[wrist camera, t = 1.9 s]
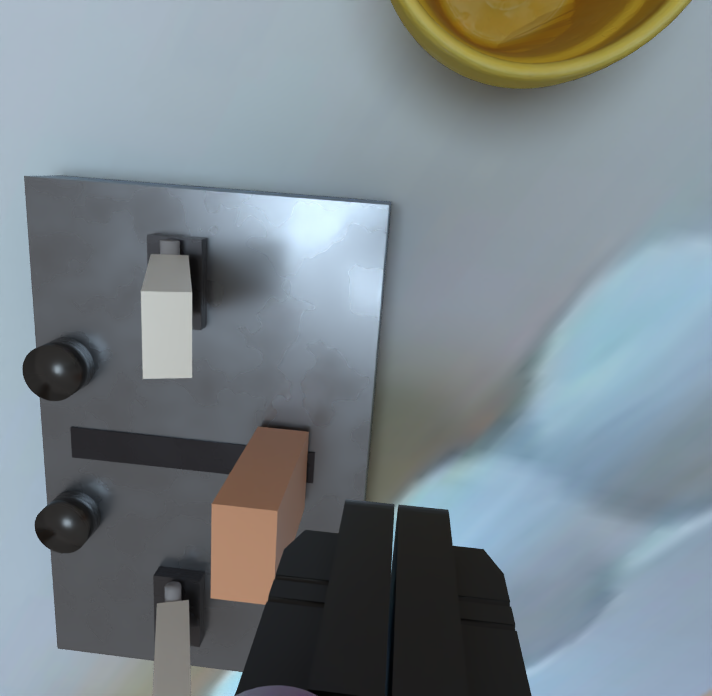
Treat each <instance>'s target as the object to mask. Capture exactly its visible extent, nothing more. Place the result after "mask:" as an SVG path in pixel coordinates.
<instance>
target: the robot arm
mask: <svg viewBox="0 0 712 696" xmlns="http://www.w3.org/2000/svg"><path fill="white" fill-rule="evenodd" d="M393 523H394V504H386V503H377V502H368V501H359V500H349V499H346V500H345V504H344V509H343V514H342V519H341V524H340V529H339V533H331V532H322V531H313V530H305V531H303V532H302V533H301V534H300V535H299V536H298V537H297V538H296V539H295V540H293V541H292V542H291V543H290V544H289V545H288V546H287V547H286V548H285V549H284V551H283V554H282V557H281V560H280V563H279V566H278V569H277V572H276V576H275V579H274V581H273V584H272V587H271V589H270V592H269V595H268V602H266V604H265V607H264V610H263V613H262V616H261V619H260V622H259V625H258V628H257V631H256V634H255V637H254V640H253V643H252V646H251V649H250V652H249V655H248V658H247V661H246V664H245V667H244V670H243V673H242V676H241V679H240V682H239V685H238V688H237V691H236V693H235V696H531V692H530V688H529V683H528V679H527V674H526V670H525V666H524V661H523V657H522V652H521V648H520V644H519V639H518V635H517V631H515V622H514V617H513V613H512V609H511V607H510V600H509V595H508V591H507V587H506V582H505V578H504V574H503V572H502V571H501V570H500V569H499V568H498V566H497V565H496V564H495V563H494V562H493V560H492V559H491V558H490V557H489V555H488V554H487V553H486V552H485V551H484V549H476V548H467V547H458V546H452V537H451V527H450V518H449V512H448V510H444V509H434V508H425V507H416V506H407V505H399V506H398V512H397V521H396V531H395V541H394V551H393V560H392V542H393ZM391 562H392V570H391Z"/></svg>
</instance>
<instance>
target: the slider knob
mask: <svg viewBox="0 0 712 696" xmlns="http://www.w3.org/2000/svg"><path fill="white" fill-rule="evenodd" d="M308 438H309V432H307V431H297V430H287V429H278V428H268V427H257V429H256V431H255V432H254V434H253V436H252V437H251V439H250V441H249V442H248V444H247V446H246V447H245V449H244V451H243V452H242V454H241V456H240V457H239V459H238V461H237V462H236V464H235V466H234V467H233V469H232V471H231V472H230V474H229V476H228V477H227V479H226V481H225V482H224V484H223V486H222V487H221V489H220V491H219V492H218V494H217V496H216V497H215V499H214V501H213V502H212V518H211V598H213V599H221V600H229V601H238V602H246V603H254V604H263V605H265V604H266V602H268V595H269V592H270V589H271V587H272V584H273V581H274V579H275V576H276V572H277V569H278V566H279V563H280V560H281V557H282V554H283V551H284V549H285V548H286V547H287V546H288V545H289V544H290V543H291V542H292V541H293V540H295V537H296V534H297V530H298V527H299V524H300V521H301V518H302V515H303V512H304V508H305V491H306V474H307V456H308Z"/></svg>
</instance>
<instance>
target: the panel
mask: <svg viewBox="0 0 712 696" xmlns="http://www.w3.org/2000/svg"><path fill="white" fill-rule="evenodd" d="M24 181H25V195H26V209H27V223H28V237H29V252H30V266H31V280H32V294H33V308H34V322H35V336H36V348H35V349H34V350H32V351H31V352H30V353H29V354H28V355H27V356H26V358H25V360H24V363H23V376H24V379H25V382H26V384H27V385H28V387H29V388H30V389H31V391H32V392H34V393H35V394H36V395H37V396H39V397H40V407H41V421H42V435H43V449H44V463H45V477H46V491H47V506H46V507H45V508H44V509H43V510H42V511H41V512H40V513H39V514H38V515H37V517H36V520H35V531H36V534H37V536H38V538H39V540H40V541H41V542H42V543H43V544H44V545H45V546H46V547H47V548H49V549H51V562H52V576H53V590H54V604H55V618H56V632H57V646H58V648H59V649H67V650H74V651H82V652H90V653H98V654H106V655H114V656H121V657H129V658H137V659H145V660H153V661H154V655H155V634H156V612H157V603H165V585H166V584H167V583H169V582H172V581H177V582H179V583H181V601H183V600H189V628H190V665H192V666H200V667H208V668H215V669H223V670H231V671H239V672H243V670H244V667H245V664H246V661H247V658H248V655H249V652H250V649H251V646H252V643H253V640H254V637H255V634H256V631H257V628H258V625H259V622H260V619H261V616H262V613H263V610H264V607H265V605H263V604H254V603H246V602H238V601H229V600H221V599H213V598H211V518H212V502H213V501H214V499H215V497H216V496H217V494H218V492H219V491H220V489H221V487H222V486H223V484H224V482H225V481H226V479H227V477H228V476H229V474H230V472H231V471H232V469H233V467H234V466H235V464H236V462H237V461H238V459H239V457H240V456H241V454H242V452H243V451H244V449H245V447H246V446H247V444H248V442H249V441H250V439H251V437H252V436H253V434H254V432H255V431H256V429H257V427H268V428H278V429H287V430H297V431H307V432H309V438H308V456H307V474H306V491H305V508H304V512H303V515H302V518H301V521H300V524H299V527H298V530H297V534H296V537H295V539H296V538H297V537H298V536H299V535H300V534H301V533H302V532H303V531H305V530H313V531H322V532H331V533H339V529H340V524H341V519H342V514H343V509H344V504H345V500H346V499H349V500H359V501H366V489H367V478H368V466H369V455H370V443H371V431H372V420H373V408H374V397H375V385H376V373H377V362H378V350H379V339H380V327H381V315H382V304H383V292H384V281H385V269H386V258H387V246H388V234H389V223H390V211H391V202H390V201H377V200H364V199H352V198H339V197H326V196H314V195H301V194H289V193H276V192H263V191H251V190H238V189H226V188H213V187H200V186H188V185H175V184H162V183H150V182H137V181H125V180H112V179H99V178H87V177H74V176H62V175H57V176H24ZM160 240H178V241H180V255H189V266H190V276H191V286H192V378H162V379H143V366H142V321H141V289H142V285H143V281H144V278H145V274H146V270H147V266H148V263H149V259H150V255H151V254H160Z"/></svg>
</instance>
